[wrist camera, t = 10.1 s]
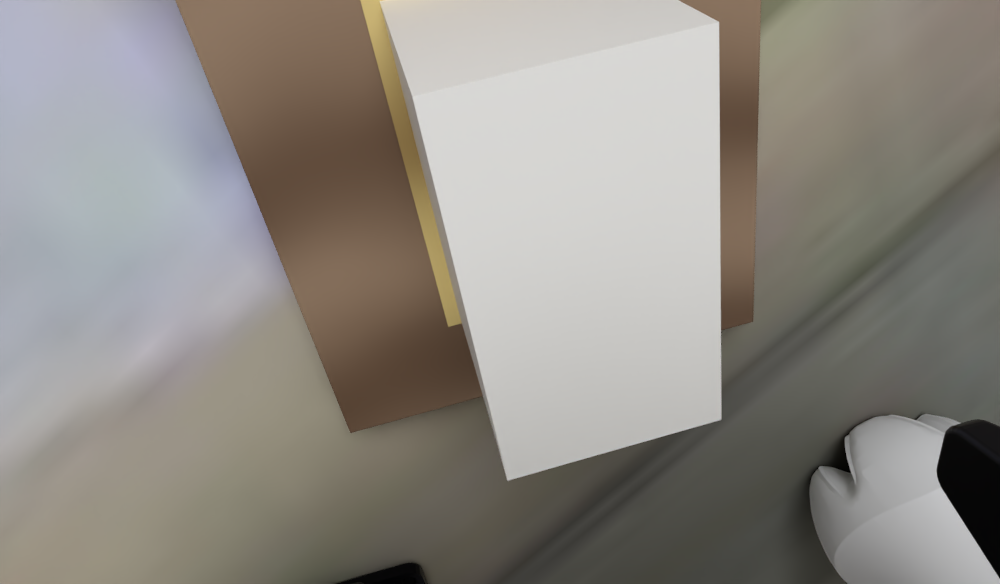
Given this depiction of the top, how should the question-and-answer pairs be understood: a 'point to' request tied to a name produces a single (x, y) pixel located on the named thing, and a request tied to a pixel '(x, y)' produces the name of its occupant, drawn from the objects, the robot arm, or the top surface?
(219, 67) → the board
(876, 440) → the water bottle
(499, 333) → the block
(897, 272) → the top surface
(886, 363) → the top surface
